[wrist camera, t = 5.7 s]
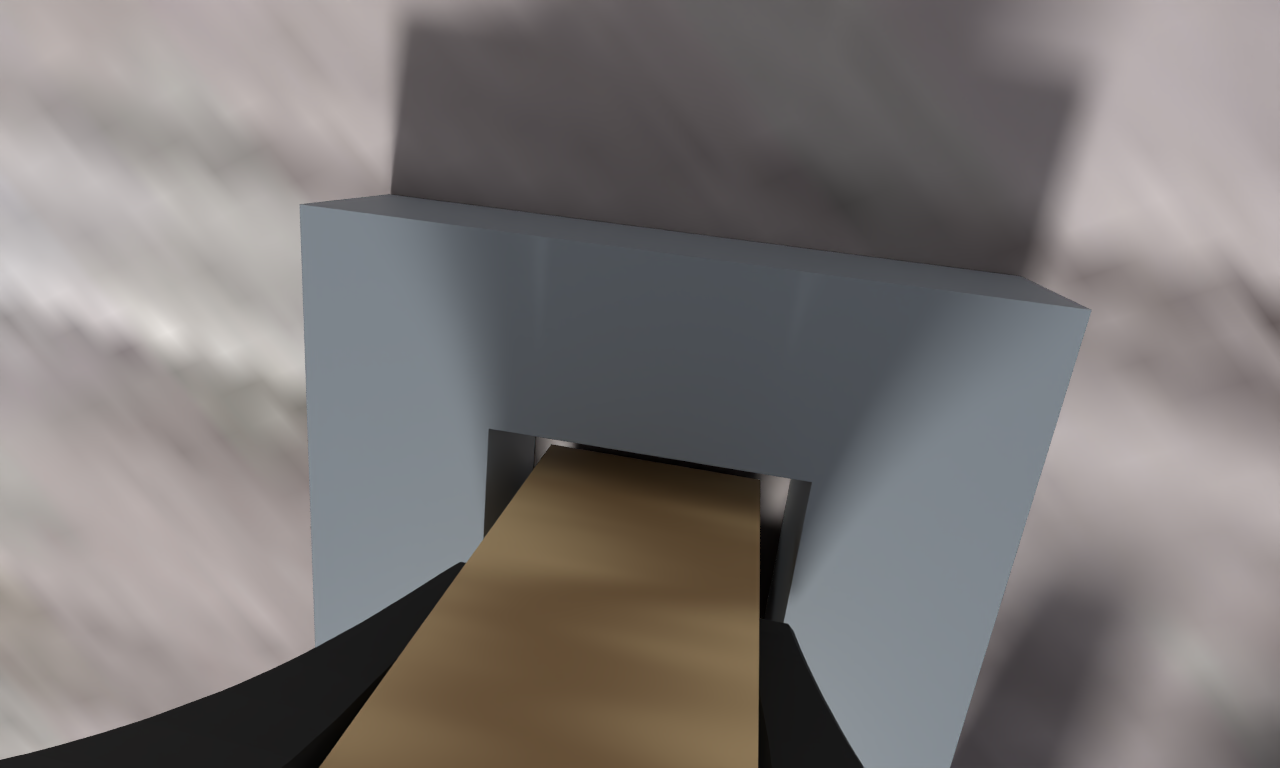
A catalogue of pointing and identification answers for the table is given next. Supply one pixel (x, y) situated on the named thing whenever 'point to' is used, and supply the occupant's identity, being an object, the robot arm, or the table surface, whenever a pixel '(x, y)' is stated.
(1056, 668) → the table surface
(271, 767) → the robot arm
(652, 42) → the table surface
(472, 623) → the square peg
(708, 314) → the socket plate
